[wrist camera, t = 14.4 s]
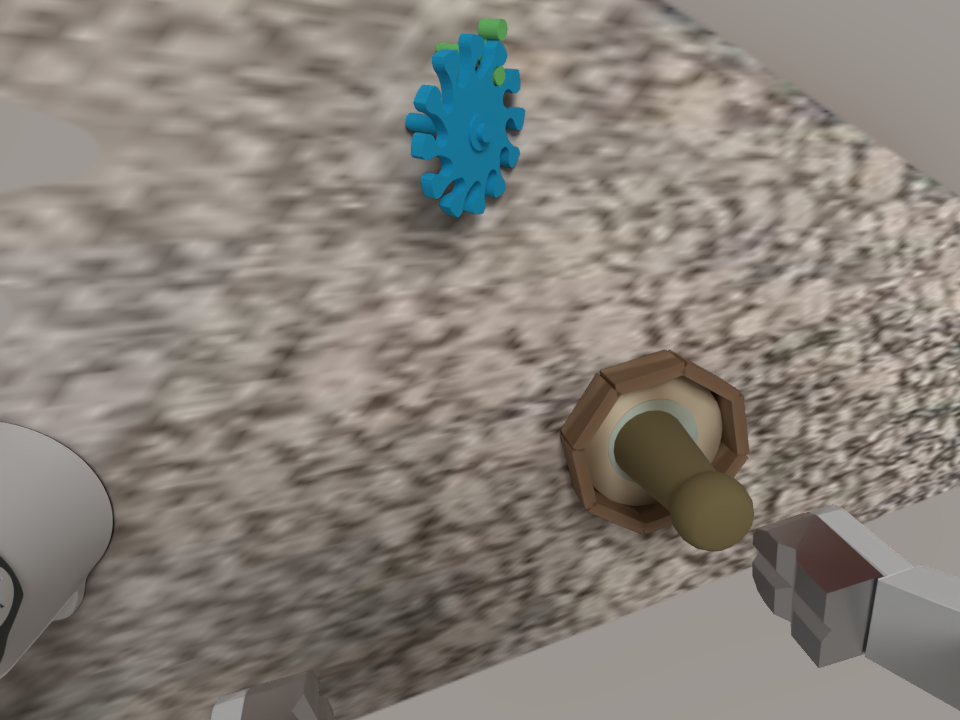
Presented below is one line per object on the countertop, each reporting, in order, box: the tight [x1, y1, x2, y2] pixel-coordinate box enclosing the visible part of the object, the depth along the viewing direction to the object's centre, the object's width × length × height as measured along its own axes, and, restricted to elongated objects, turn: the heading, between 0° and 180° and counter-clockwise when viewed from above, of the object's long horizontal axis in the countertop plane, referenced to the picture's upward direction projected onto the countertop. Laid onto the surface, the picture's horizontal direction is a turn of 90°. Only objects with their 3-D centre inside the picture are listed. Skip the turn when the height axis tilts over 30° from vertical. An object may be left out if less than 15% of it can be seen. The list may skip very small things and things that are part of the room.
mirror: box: [560, 350, 750, 534], centre depth 46 cm, size 14×14×3 cm
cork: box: [613, 410, 754, 551], centre depth 41 cm, size 6×6×11 cm
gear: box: [406, 19, 525, 217], centre depth 35 cm, size 11×6×10 cm
